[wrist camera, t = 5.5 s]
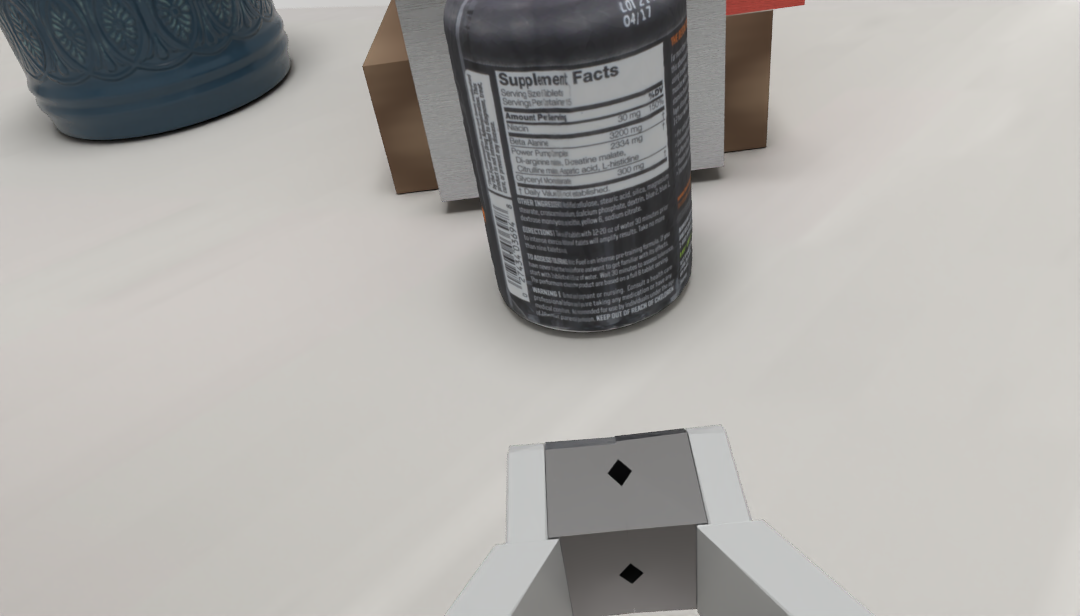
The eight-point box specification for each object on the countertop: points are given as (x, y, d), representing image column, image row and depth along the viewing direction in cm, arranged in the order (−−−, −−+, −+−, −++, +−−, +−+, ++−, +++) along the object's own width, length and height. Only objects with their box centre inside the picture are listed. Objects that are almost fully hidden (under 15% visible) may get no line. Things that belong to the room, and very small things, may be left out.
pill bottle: (558, 213, 27) (509, -160, 21) (722, 244, 25) (728, -175, 18) (459, 311, 24) (359, -106, 17) (640, 362, 21) (607, -115, 14)
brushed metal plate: (441, 202, 28) (386, -34, 23) (444, 185, 29) (392, -44, 24) (795, 157, 27) (815, -96, 22) (786, 142, 28) (803, -104, 23)
